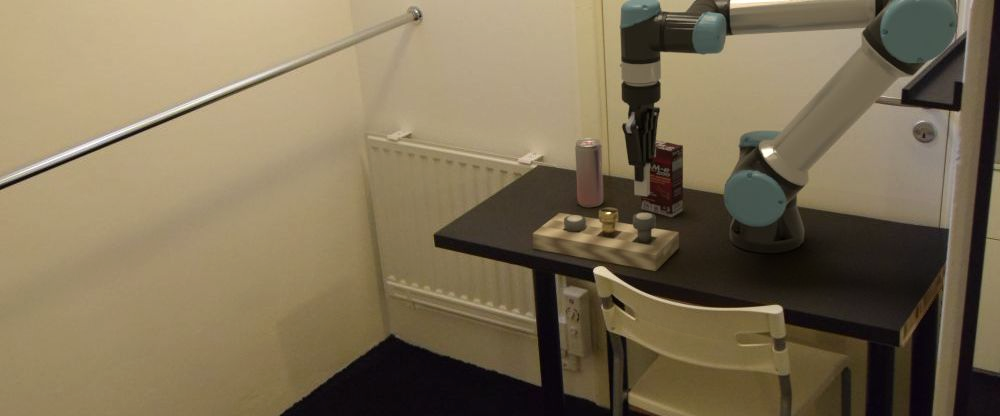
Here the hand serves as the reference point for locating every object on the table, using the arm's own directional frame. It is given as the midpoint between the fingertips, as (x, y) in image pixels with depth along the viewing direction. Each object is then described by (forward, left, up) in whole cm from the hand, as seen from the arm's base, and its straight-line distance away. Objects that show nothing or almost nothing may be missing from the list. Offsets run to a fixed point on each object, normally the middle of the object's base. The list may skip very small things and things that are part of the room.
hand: (642, 194), depth 213 cm
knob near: (0, 0, -10) cm, 10 cm away
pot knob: (+8, 0, -10) cm, 13 cm away
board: (+9, 0, -14) cm, 16 cm away
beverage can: (+23, -21, -14) cm, 34 cm away
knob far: (+16, 0, -13) cm, 21 cm away
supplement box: (+6, -23, -14) cm, 27 cm away
